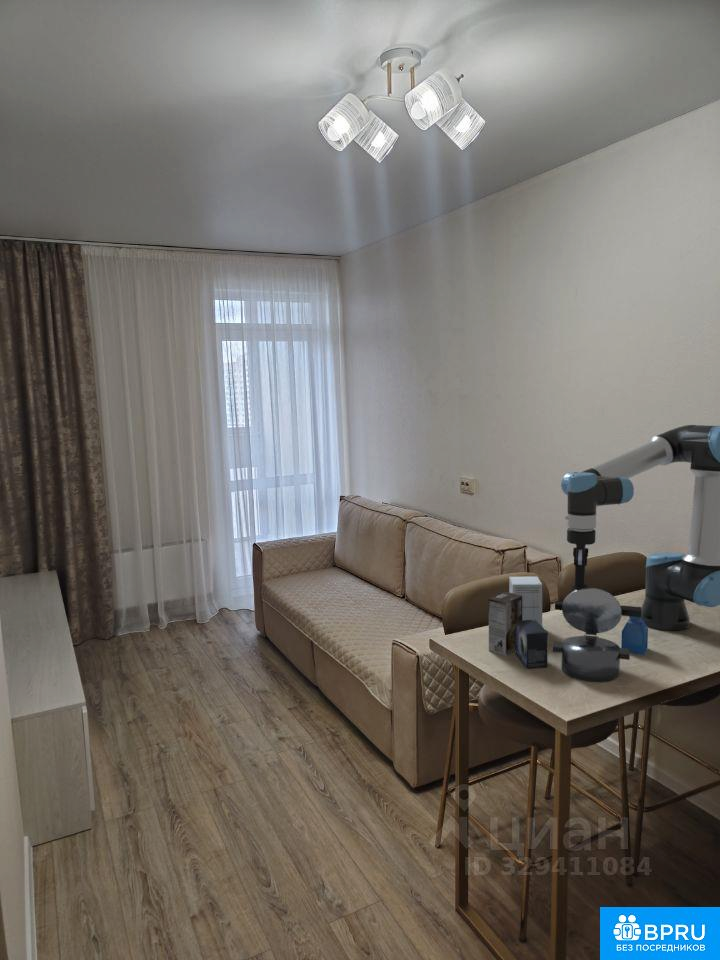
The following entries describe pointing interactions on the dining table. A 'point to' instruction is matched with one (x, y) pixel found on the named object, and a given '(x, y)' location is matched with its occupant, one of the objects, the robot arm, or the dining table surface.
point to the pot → (590, 658)
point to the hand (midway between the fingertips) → (579, 610)
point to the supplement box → (528, 596)
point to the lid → (594, 610)
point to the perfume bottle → (635, 636)
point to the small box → (531, 644)
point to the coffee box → (503, 621)
